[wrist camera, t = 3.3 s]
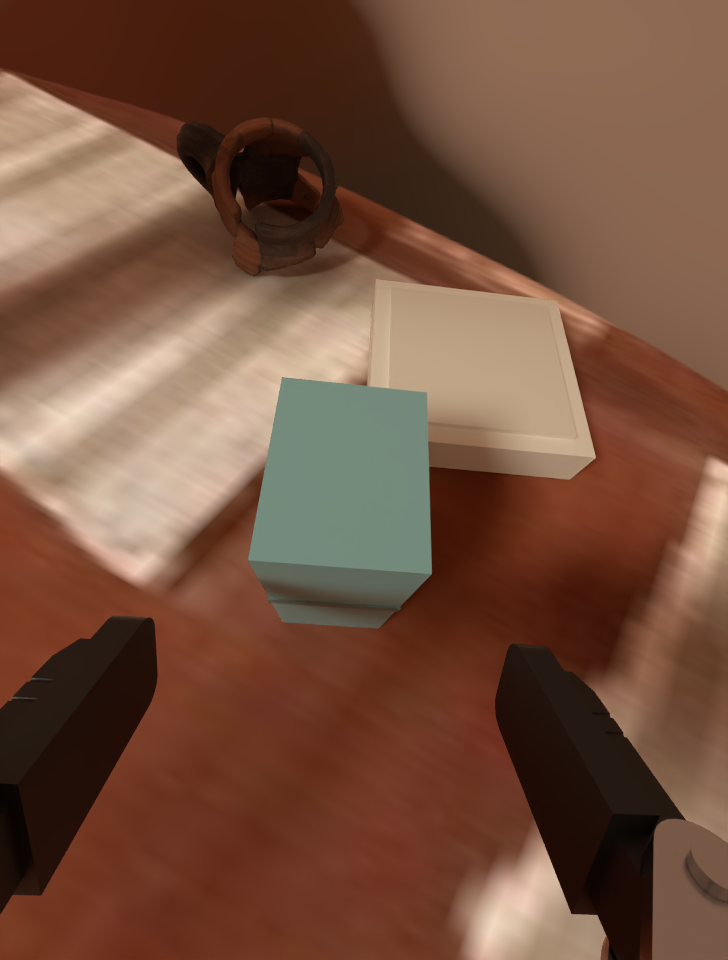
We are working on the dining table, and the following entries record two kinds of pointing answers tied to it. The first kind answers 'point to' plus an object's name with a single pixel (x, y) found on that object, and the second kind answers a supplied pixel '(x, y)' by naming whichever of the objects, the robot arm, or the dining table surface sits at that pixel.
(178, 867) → the dining table surface
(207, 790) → the dining table surface
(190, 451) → the dining table surface
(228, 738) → the dining table surface
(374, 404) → the teal rectangular box
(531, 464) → the display plinth
